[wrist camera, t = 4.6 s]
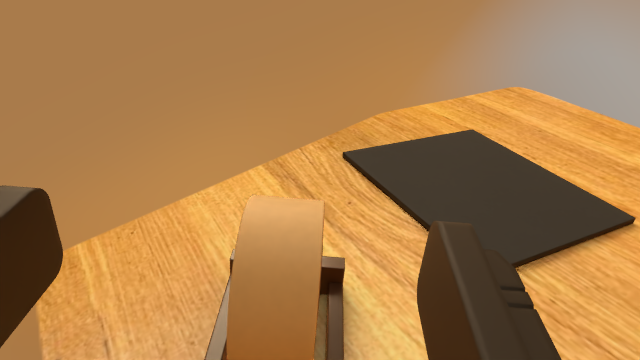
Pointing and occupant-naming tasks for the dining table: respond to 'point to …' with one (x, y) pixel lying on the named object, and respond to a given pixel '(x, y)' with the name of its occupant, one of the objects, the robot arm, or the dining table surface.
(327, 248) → the dining table surface
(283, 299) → the tape roll
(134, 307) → the dining table surface
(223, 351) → the holder
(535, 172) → the mat
